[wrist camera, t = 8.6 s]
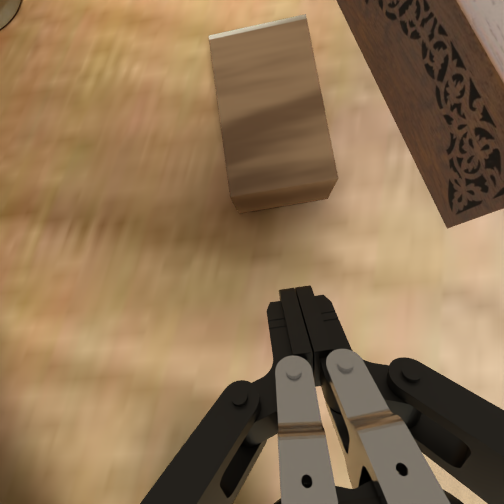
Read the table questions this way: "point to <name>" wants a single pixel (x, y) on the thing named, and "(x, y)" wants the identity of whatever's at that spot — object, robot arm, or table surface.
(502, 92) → the tissue box cover
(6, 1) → the planter bowl
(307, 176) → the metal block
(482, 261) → the table surface
